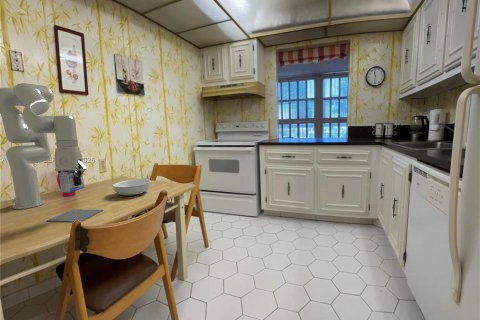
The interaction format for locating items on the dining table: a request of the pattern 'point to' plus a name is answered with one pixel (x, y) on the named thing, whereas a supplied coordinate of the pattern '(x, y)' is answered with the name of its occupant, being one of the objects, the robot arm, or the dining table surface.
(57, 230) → the dining table surface
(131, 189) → the serving bowl
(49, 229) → the dining table surface
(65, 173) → the medicine box
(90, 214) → the slate mat
